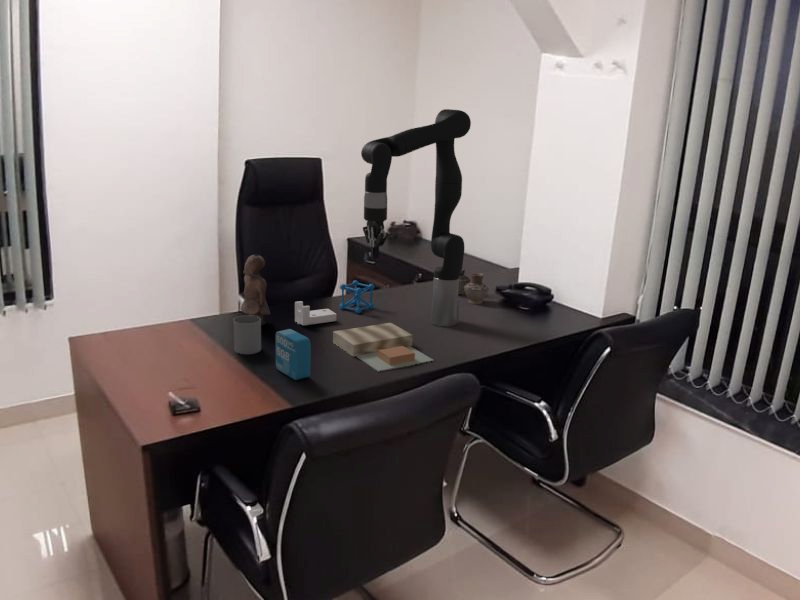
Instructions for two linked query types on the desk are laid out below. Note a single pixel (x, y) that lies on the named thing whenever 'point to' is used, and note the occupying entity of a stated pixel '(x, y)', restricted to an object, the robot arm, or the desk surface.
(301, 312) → the bracket
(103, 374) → the desk surface
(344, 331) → the light wood flat block
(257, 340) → the cup
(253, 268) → the clay figurine
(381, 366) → the mat
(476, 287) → the pottery
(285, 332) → the data package
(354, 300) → the molecular structure
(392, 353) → the tile
